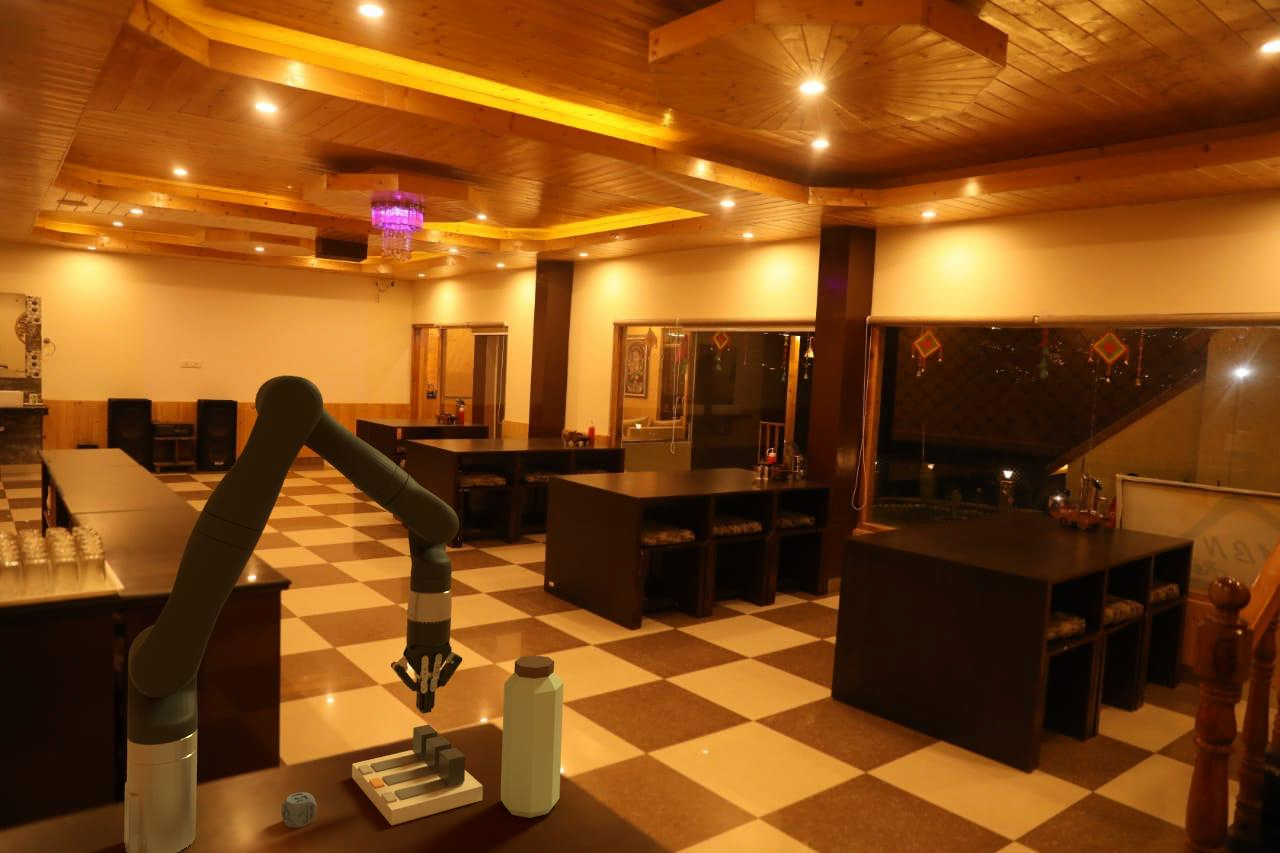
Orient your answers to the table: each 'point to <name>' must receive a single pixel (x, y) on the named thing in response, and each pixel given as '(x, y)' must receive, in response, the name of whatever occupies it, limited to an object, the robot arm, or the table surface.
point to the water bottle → (531, 737)
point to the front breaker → (451, 766)
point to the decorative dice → (298, 810)
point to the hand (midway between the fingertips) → (425, 711)
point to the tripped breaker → (435, 751)
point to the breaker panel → (411, 787)
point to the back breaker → (422, 739)
